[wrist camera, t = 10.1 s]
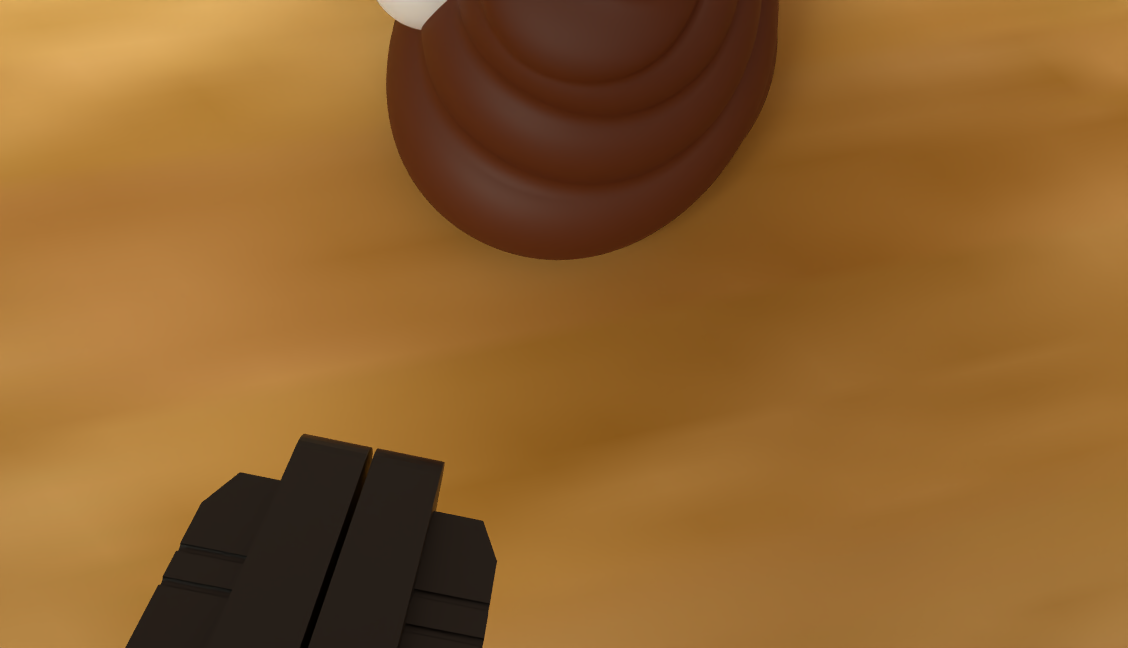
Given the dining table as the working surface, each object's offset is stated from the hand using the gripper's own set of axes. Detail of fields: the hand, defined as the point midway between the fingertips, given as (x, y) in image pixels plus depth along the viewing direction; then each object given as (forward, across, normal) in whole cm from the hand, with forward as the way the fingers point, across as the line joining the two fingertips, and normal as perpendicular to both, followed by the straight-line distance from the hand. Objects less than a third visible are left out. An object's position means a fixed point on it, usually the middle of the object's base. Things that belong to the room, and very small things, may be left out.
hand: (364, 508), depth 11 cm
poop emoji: (+17, -1, +1) cm, 17 cm away
